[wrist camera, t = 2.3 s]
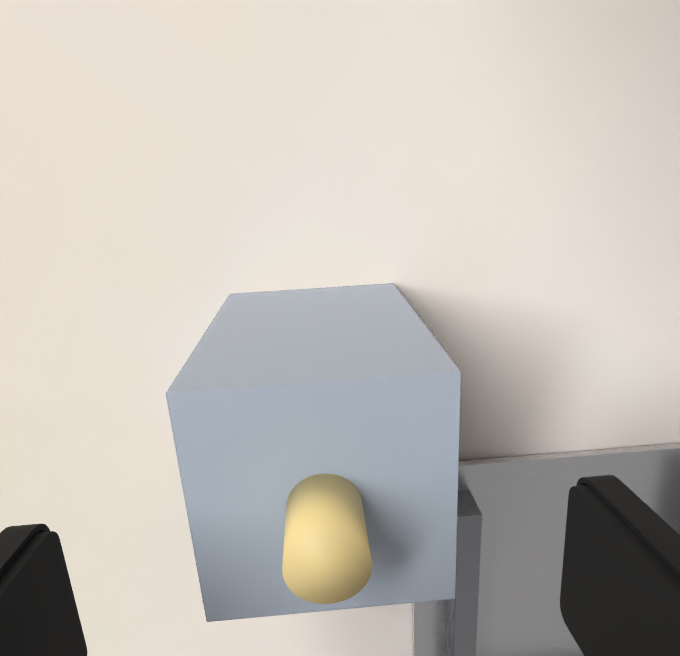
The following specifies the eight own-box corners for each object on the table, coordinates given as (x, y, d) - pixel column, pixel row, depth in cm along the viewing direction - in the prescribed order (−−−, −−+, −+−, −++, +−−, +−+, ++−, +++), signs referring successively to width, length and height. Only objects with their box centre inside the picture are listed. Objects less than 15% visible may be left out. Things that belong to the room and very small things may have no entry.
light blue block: (230, 293, 15) (135, 440, 7) (393, 282, 15) (492, 412, 7) (248, 438, 16) (188, 699, 8) (395, 426, 17) (479, 670, 8)
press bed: (411, 465, 17) (421, 493, 15) (742, 437, 17) (783, 463, 16) (413, 725, 21) (421, 768, 19) (682, 696, 21) (711, 737, 20)
